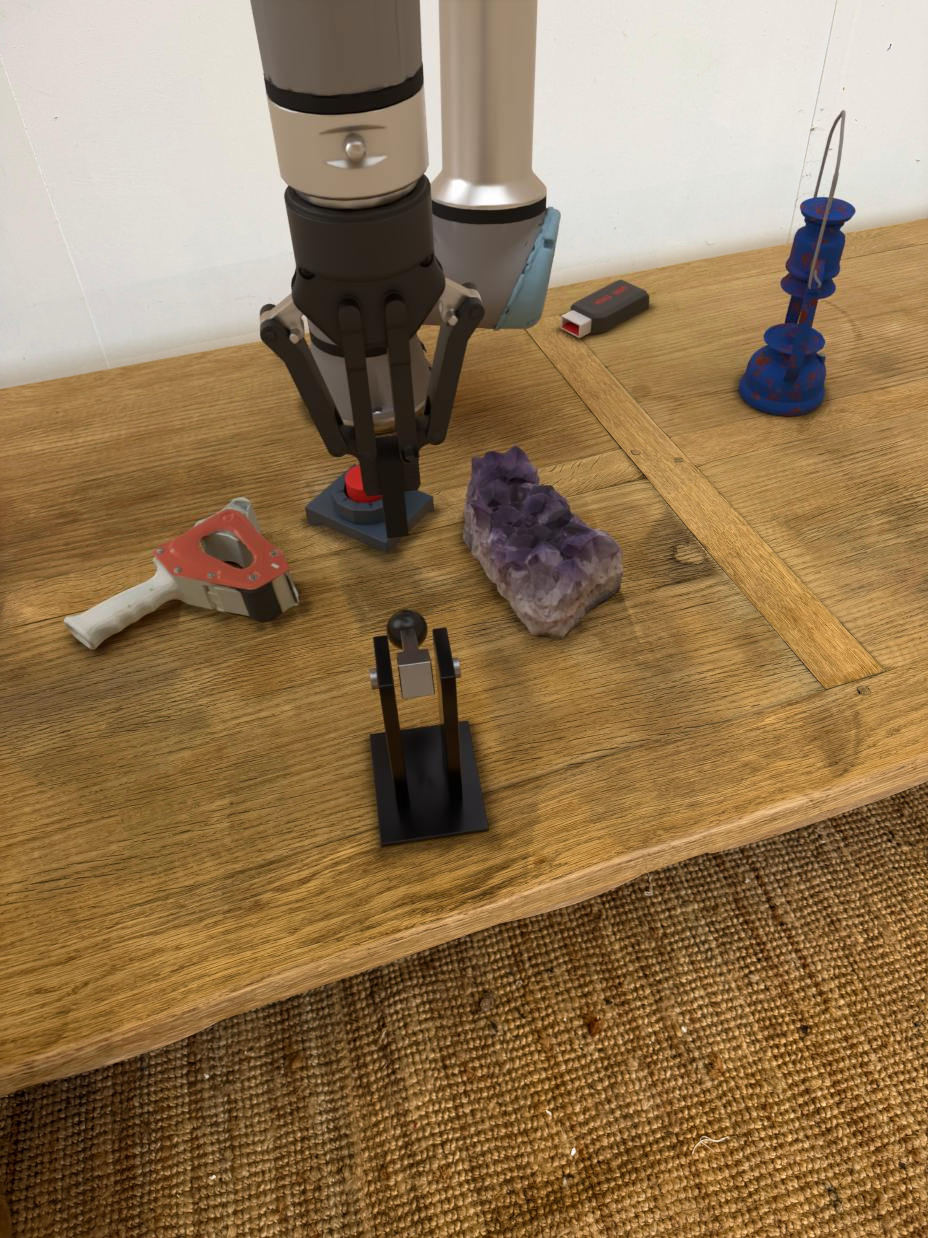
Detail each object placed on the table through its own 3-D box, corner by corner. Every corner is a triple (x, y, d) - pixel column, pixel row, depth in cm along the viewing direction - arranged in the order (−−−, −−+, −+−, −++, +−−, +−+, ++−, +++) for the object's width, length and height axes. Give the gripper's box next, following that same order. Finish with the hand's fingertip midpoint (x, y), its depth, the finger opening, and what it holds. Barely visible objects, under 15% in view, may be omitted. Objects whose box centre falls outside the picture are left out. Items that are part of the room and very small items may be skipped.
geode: (418, 531, 93) (422, 444, 86) (515, 504, 98) (526, 418, 91) (530, 659, 80) (544, 568, 74) (635, 620, 85) (658, 531, 78)
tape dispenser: (69, 662, 85) (277, 678, 81) (42, 624, 81) (260, 640, 77) (143, 526, 96) (330, 535, 92) (124, 487, 92) (318, 494, 88)
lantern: (825, 423, 103) (913, 134, 81) (738, 415, 104) (800, 130, 82) (820, 370, 110) (900, 91, 88) (738, 363, 111) (796, 87, 89)
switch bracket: (371, 742, 76) (347, 609, 64) (468, 728, 76) (462, 594, 65) (382, 852, 69) (358, 725, 58) (489, 836, 70) (486, 707, 58)
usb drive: (648, 307, 121) (651, 287, 119) (585, 342, 116) (586, 322, 114) (618, 293, 124) (620, 273, 122) (554, 327, 118) (555, 307, 116)
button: (338, 494, 92) (336, 480, 90) (363, 472, 94) (361, 458, 92) (371, 508, 90) (369, 494, 89) (396, 486, 92) (394, 471, 91)
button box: (307, 523, 94) (301, 492, 91) (356, 480, 99) (352, 449, 96) (387, 559, 90) (383, 528, 87) (434, 512, 95) (432, 481, 92)
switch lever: (388, 645, 74) (383, 607, 73) (428, 640, 74) (423, 601, 73) (395, 706, 62) (389, 661, 61) (443, 699, 62) (438, 654, 61)
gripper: (225, 224, 44) (304, 574, 62) (495, 197, 45) (497, 549, 63) (228, 159, 49) (300, 500, 67) (471, 136, 50) (479, 478, 68)
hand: (396, 523), depth 65 cm, fingers closed
